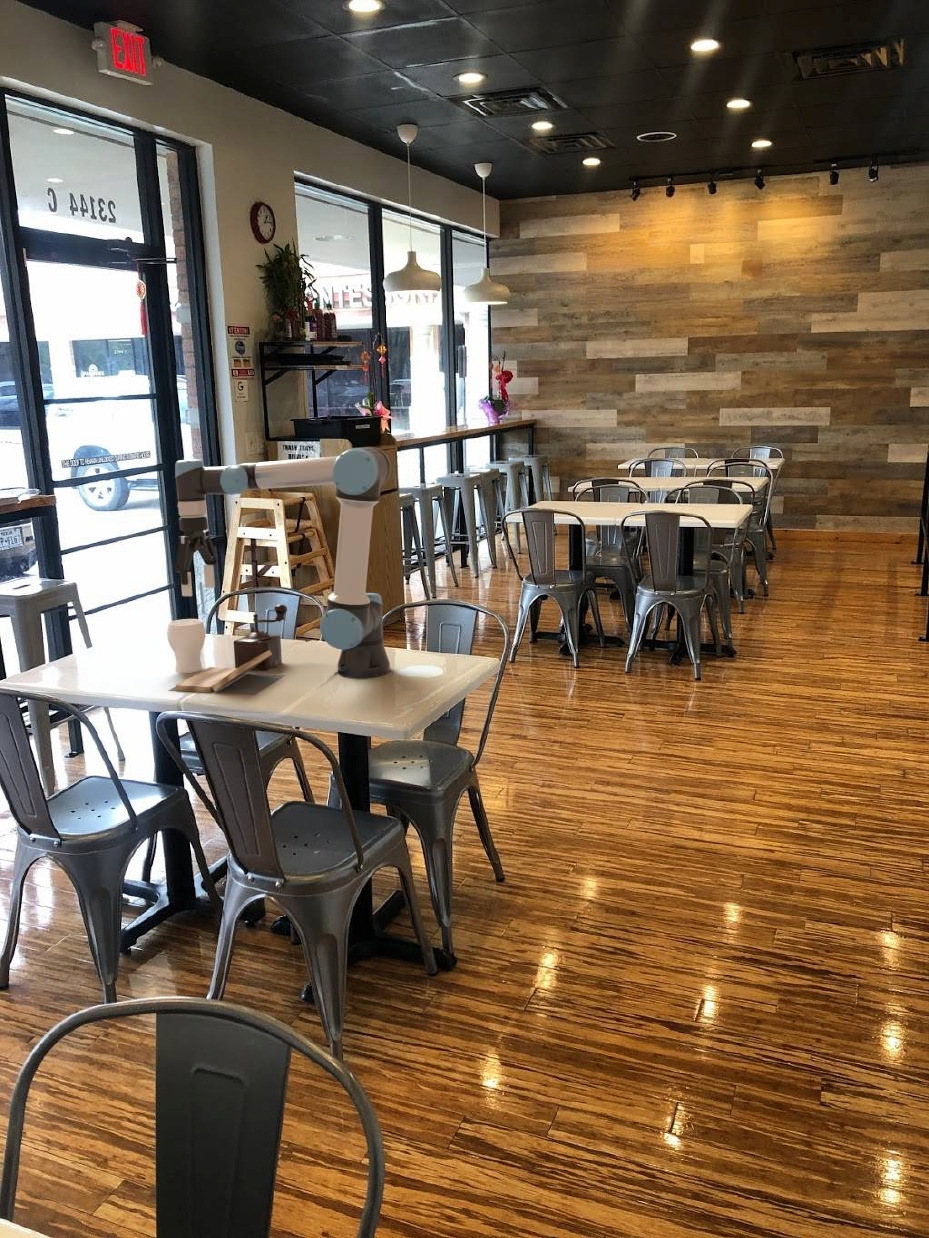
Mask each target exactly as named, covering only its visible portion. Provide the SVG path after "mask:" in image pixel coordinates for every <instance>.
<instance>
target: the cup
mask: <svg viewBox="0 0 929 1238" xmlns="http://www.w3.org/2000/svg"><path fill="white" fill-rule="evenodd" d="M166 634H167V635H166V637H167V640H168V641H167V642H168V643H169V646H170V648H171V649H172V651H173V654H174V657H175V661H176V662H175V663H176V664H175V672H177V673H185V674H189V673H190V674H191V673H195V672H199V671H200V672H201V671H203V665H202V662H201V661H202V660H201V654H202V652H201V651H202V649H203V647H204V645H205V639H206V628H205V625H204V621H203V620H202V619H199V618H183V619H176V620H172V621H170V622H168V626H167V632H166Z"/></svg>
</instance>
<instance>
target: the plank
mask: <svg viewBox="0 0 929 1238" xmlns="http://www.w3.org/2000/svg"><path fill="white" fill-rule="evenodd" d="M271 655H272V653H271V651H270V650H268V651H266V652H265V653H263V654H261V655H259V656H258V657H256V658H254V659H252V660H250V661H249V662H247V663H245V664H243V665H242V666H240V667H238V668H237V669H236V670H234V671H233V672H231V673H230V674H229V675H227V676H226V677H224V678H223V679H222V680H220V681H219V682H217V683H216V684H215V685H213V686H212V688H213V689H214V691H216V690H218V689H220V688H221V687H223V686H225V685H226V684H228V683H230V682H232V681H233V680H235V679H237V678H238V677H240V676H242V675H243V674H245V673H248V672H250V671H252V670H251V669H252V668H254V667H255V666H257V665H258V664H259V663H261V662H262V661H264V660H265V659H266V658H268V657H269V656H271Z"/></svg>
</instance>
